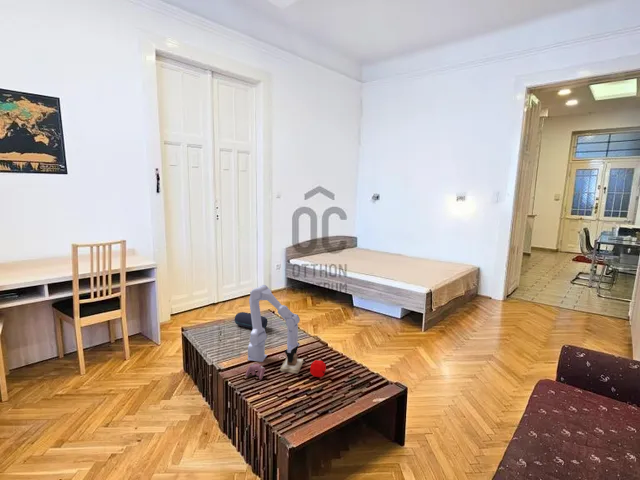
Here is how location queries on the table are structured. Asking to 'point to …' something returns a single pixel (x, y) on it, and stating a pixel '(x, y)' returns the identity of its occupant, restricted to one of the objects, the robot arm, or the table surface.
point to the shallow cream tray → (292, 366)
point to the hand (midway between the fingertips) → (292, 358)
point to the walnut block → (293, 360)
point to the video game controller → (253, 372)
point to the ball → (318, 368)
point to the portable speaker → (248, 320)
